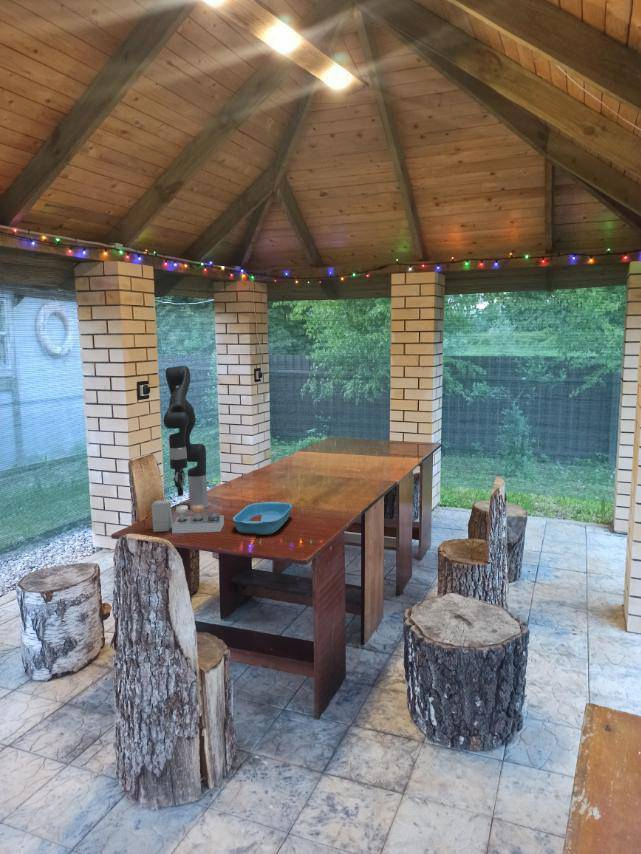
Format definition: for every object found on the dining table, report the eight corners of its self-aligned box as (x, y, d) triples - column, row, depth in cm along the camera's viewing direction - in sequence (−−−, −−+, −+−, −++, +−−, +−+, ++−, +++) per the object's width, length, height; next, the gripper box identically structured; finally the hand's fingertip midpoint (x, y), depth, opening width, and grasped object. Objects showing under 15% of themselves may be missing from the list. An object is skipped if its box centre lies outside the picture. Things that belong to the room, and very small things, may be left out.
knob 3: (209, 527, 267) (208, 512, 266) (221, 526, 267) (220, 512, 266) (207, 530, 261) (206, 516, 261) (219, 530, 262) (218, 515, 261)
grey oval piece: (178, 519, 266) (177, 505, 265) (189, 519, 266) (188, 505, 265) (175, 523, 261) (174, 508, 260) (187, 522, 261) (186, 508, 260)
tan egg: (193, 519, 266) (192, 504, 265) (205, 518, 266) (204, 504, 265) (191, 522, 261) (190, 508, 260) (203, 522, 261) (202, 507, 260)
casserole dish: (252, 514, 289) (251, 500, 288) (296, 515, 284) (296, 500, 283) (227, 538, 253) (226, 522, 252) (277, 539, 249) (276, 523, 248)
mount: (178, 527, 270) (177, 516, 269) (224, 525, 270) (223, 515, 269) (172, 535, 258) (171, 524, 257) (220, 533, 258) (219, 522, 258)
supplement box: (172, 526, 271) (171, 499, 270) (169, 531, 264) (167, 504, 262) (156, 527, 271) (155, 500, 269) (152, 532, 264) (150, 504, 262)
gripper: (173, 454, 266) (175, 492, 268) (166, 460, 253) (168, 499, 255) (189, 454, 266) (191, 491, 268) (183, 459, 253) (185, 498, 255)
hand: (180, 495), depth 262 cm, fingers closed
